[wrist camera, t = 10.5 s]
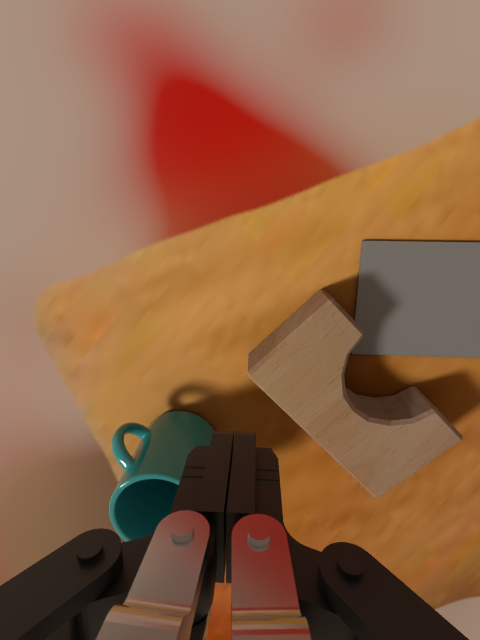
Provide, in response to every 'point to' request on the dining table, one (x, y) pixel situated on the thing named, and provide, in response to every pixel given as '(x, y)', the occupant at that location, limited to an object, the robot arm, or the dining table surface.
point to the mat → (419, 299)
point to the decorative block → (346, 399)
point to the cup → (153, 470)
